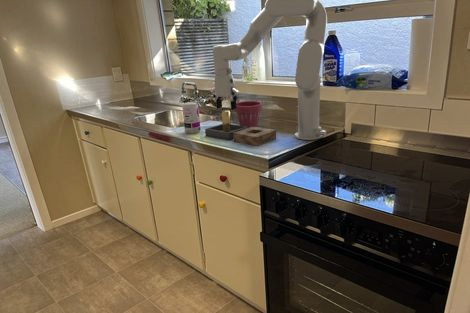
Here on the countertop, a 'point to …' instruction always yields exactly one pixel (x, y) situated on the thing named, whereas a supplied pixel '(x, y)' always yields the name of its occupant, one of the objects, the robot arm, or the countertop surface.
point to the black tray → (219, 133)
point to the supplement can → (191, 117)
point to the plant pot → (248, 113)
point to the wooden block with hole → (254, 135)
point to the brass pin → (226, 121)
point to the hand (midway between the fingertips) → (226, 108)
